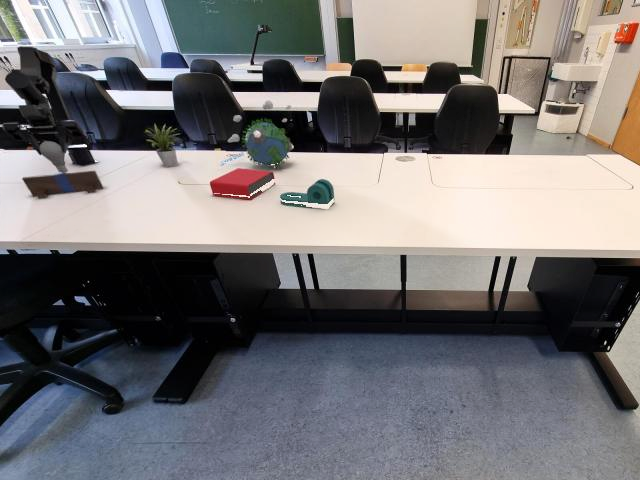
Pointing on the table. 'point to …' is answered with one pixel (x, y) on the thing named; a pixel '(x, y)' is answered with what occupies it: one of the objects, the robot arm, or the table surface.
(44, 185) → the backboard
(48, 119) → the robot arm
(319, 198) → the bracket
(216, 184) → the red book
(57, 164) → the light bulb
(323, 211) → the table surface
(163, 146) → the house plant
